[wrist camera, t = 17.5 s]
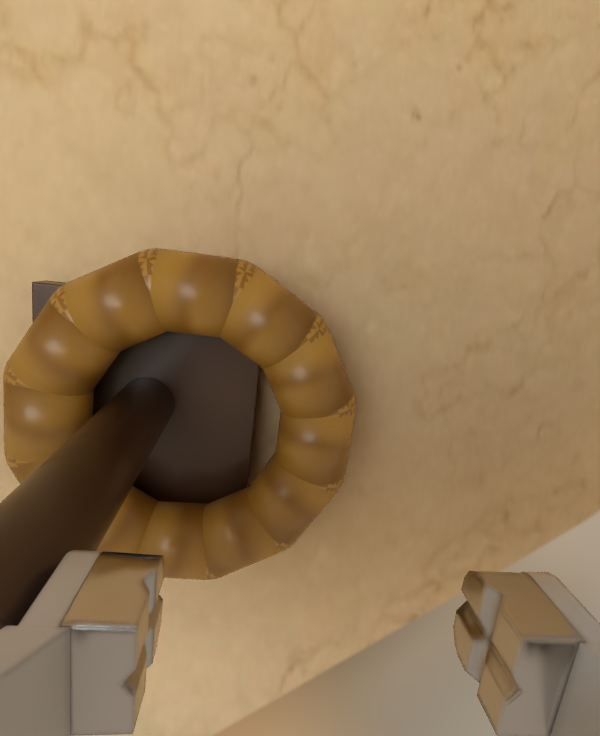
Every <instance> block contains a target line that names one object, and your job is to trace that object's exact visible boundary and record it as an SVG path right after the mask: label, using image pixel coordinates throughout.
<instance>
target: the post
mask: <svg viewBox="0 0 600 736" xmlns="http://www.w3.org/2000/svg"><path fill="white" fill-rule="evenodd" d="M64 284H66V283H61V282H52V281H39V282H33V283H32V309H33V322H34V321H35V319H36V318H37V316H38V315H39V313H40V312H41V310H42V309H43V307H44V306H45V304H46V303H47V301H48V300H49V298H50V297H51V296H52V294H53V293H54V292H55V291H56V290H57V289H58V288H59V287H61V286H62V285H64ZM259 369H260V366H259V365H257V364H256V363H254V362H253V361H252V360H250V359H249V358H248V357H246V356H245V355H243V354H242V353H241V352H239V351H238V350H236V349H235V348H234V347H232V346H231V345H229V344H228V343H227V342H225V341H224V340H222V339H221V338H217V337H209V336H200V335H191V334H183V333H174V332H165V333H163V334H160V335H158V336H155V337H153V338H151V339H148V340H146V341H144V342H141V343H139V344H137V345H134V346H132V347H129V348H127V349H125V350H122V351H120V353H119V354H118V356H117V357H116V359H115V360H114V361H113V363H112V364H111V366H110V367H109V368H108V370H107V371H106V373H105V374H104V376H103V377H102V378H101V380H100V381H99V383H98V384H97V385H96V387H95V388H94V398H93V417H92V418H91V419H90V420H88V421H87V422H86V423H85V424H84V425H83V426H82V427H81V428H80V429H79V430H78V431H77V432H76V433H75V434H74V435H72V436H71V437H70V438H69V439H68V440H67V441H66V442H65V443H64V444H63V445H62V446H61V447H60V448H59V449H58V450H56V451H55V452H54V453H53V454H52V455H51V456H50V457H49V458H48V459H47V460H46V461H45V462H44V463H43V464H42V465H40V466H39V467H38V468H37V469H36V470H35V471H34V472H33V473H32V474H31V475H30V476H29V477H28V478H27V479H26V480H24V481H23V482H22V483H21V484H20V485H19V486H18V487H17V488H16V489H15V490H14V491H13V492H12V493H11V494H10V495H8V496H7V497H6V498H5V499H4V500H3V501H2V502H1V503H0V629H2V628H4V627H5V626H18V624H19V623H20V621H21V620H22V618H23V617H24V615H25V614H26V612H27V611H28V609H29V608H30V606H31V605H32V603H33V602H34V600H35V599H36V597H37V596H38V594H39V593H40V591H41V590H42V588H43V587H44V585H45V584H46V582H47V581H48V579H49V578H50V576H51V575H52V574H53V572H54V571H55V569H56V568H57V566H58V565H59V563H60V562H61V560H62V559H63V557H64V556H65V554H67V553H68V552H70V551H71V550H87V551H96V550H97V549H98V547H99V545H100V543H101V541H102V540H103V538H104V536H105V534H106V533H107V531H108V529H109V527H110V525H111V524H112V522H113V520H114V518H115V516H116V515H117V513H118V511H119V509H120V507H121V506H122V504H123V502H124V500H125V499H126V497H127V495H128V493H129V491H130V490H131V488H132V486H134V487H136V488H138V489H139V490H141V491H143V492H144V493H146V494H148V495H149V496H151V497H153V498H154V499H156V500H158V501H168V502H182V503H199V504H208V503H211V502H213V501H216V500H218V499H220V498H223V497H225V496H227V495H230V494H232V493H235V492H237V491H239V490H242V489H244V488H246V487H248V478H249V468H250V458H251V449H252V439H253V429H254V419H255V409H256V399H257V389H258V379H259Z"/></svg>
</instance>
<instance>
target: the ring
mask: <svg viewBox="0 0 600 736" xmlns="http://www.w3.org/2000/svg"><path fill="white" fill-rule="evenodd" d="M165 332H174V333H183V334H191V335H200V336H209V337H217V338H221V339H222V340H224V341H225V342H227V343H228V344H229V345H231V346H232V347H234V348H235V349H236V350H238V351H239V352H241V353H242V354H243V355H245V356H246V357H248V358H249V359H250V360H252V361H253V362H254V363H256V364H257V365H259V366H260V367H261V368H262V369H263V371H264V373H265V376H266V378H267V380H268V382H269V384H270V387H271V389H272V391H273V393H274V396H275V398H276V400H277V402H278V405H279V407H280V409H281V415H280V423H279V430H278V438H277V446H276V453H275V454H274V455H273V457H272V458H271V459H270V460H269V462H268V463H267V464H266V465H265V467H264V468H263V469H262V471H261V472H260V473H259V474H258V476H257V477H256V478H255V479H254V481H253V482H252V483H251V484H250V486H249V487H246V488H244V489H242V490H239V491H237V492H235V493H232V494H230V495H227V496H225V497H223V498H220V499H218V500H216V501H213V502H211V503H208V504H196V503H182V502H168V501H158V500H156V499H154V498H153V497H151V496H149V495H148V494H146V493H144V492H143V491H141V490H139V489H138V488H136V487H134V486H132V488H131V490H130V491H129V493H128V495H127V497H126V499H125V500H124V502H123V504H122V506H121V507H120V509H119V511H118V513H117V515H116V516H115V518H114V520H113V522H112V524H111V525H110V527H109V529H108V531H107V533H106V534H105V536H104V538H103V540H102V541H101V543H100V545H99V547H98V549H97V550H96V551H101V552H104V551H107V552H121V553H135V554H149V555H163V556H164V560H165V562H164V578H181V579H200V580H209V579H216V578H219V577H222V576H224V575H227V574H229V573H232V572H234V571H236V570H239V569H241V568H243V567H246V566H248V565H251V564H253V563H255V562H258V561H260V560H263V559H265V558H267V557H270V556H272V555H274V554H277V553H279V552H282V551H284V550H286V549H287V548H289V547H290V546H291V545H292V544H294V542H295V541H296V540H297V539H298V538H299V537H300V535H301V534H302V533H303V532H304V531H305V529H306V528H307V527H308V526H309V525H310V523H311V522H312V521H313V520H314V519H315V517H316V516H317V515H318V514H319V513H320V511H321V510H322V509H323V508H324V507H325V505H326V504H327V503H328V502H329V501H330V499H331V498H332V497H333V496H334V494H335V493H336V492H337V491H338V489H339V488H340V486H341V484H342V482H343V479H344V475H345V470H346V464H347V458H348V452H349V447H350V441H351V435H352V429H353V423H354V417H355V411H356V399H355V395H354V392H353V389H352V387H351V384H350V382H349V379H348V377H347V374H346V372H345V369H344V367H343V364H342V362H341V359H340V357H339V354H338V352H337V349H336V346H335V344H334V341H333V339H332V336H331V334H330V331H329V329H328V327H327V325H326V323H325V321H324V320H323V319H322V317H321V316H320V315H319V314H317V313H316V312H315V311H314V310H312V309H311V308H310V307H309V306H307V305H306V304H305V303H303V302H302V301H301V300H300V299H298V298H297V297H296V296H294V295H293V294H292V293H291V292H289V291H288V290H287V289H285V288H284V287H283V286H282V285H280V284H279V283H278V282H276V281H275V280H274V279H272V278H271V277H270V276H269V275H267V274H266V273H265V272H263V271H262V270H261V269H260V268H258V267H257V266H255V265H254V264H252V263H249V262H247V261H244V260H239V259H232V258H225V257H218V256H211V255H203V254H196V253H189V252H182V251H174V250H167V249H157V248H156V249H148V250H144V251H141V252H138V253H136V254H133V255H131V256H129V257H126V258H124V259H122V260H119V261H117V262H114V263H112V264H110V265H107V266H105V267H103V268H100V269H98V270H96V271H93V272H91V273H89V274H86V275H84V276H82V277H79V278H77V279H74V280H72V281H70V282H68V283H66V284H64V285H62V286H61V287H59V288H58V289H57V290H56V291H55V292H54V293H53V294H52V296H51V297H50V298H49V300H48V301H47V303H46V304H45V306H44V307H43V309H42V310H41V312H40V313H39V315H38V316H37V318H36V319H35V321H34V322H33V324H32V325H31V327H30V328H29V330H28V331H27V333H26V334H25V336H24V337H23V339H22V340H21V342H20V343H19V345H18V346H17V348H16V349H15V351H14V352H13V354H12V355H11V357H10V359H9V360H8V362H7V364H6V366H5V370H4V379H3V382H4V451H5V458H6V461H7V463H8V465H9V467H10V469H11V470H12V472H13V473H14V475H15V477H16V478H17V480H18V481H19V483H20V484H21V483H22V482H23V481H24V480H26V479H27V478H28V477H29V476H30V475H31V474H32V473H33V472H34V471H35V470H36V469H37V468H38V467H39V466H40V465H42V464H43V463H44V462H45V461H46V460H47V459H48V458H49V457H50V456H51V455H52V454H53V453H54V452H55V451H56V450H58V449H59V448H60V447H61V446H62V445H63V444H64V443H65V442H66V441H67V440H68V439H69V438H70V437H71V436H72V435H74V434H75V433H76V432H77V431H78V430H79V429H80V428H81V427H82V426H83V425H84V424H85V423H86V422H87V421H88V420H90V419H91V418H92V417H93V398H94V388H95V387H96V385H97V384H98V383H99V381H100V380H101V378H102V377H103V376H104V374H105V373H106V371H107V370H108V368H109V367H110V366H111V364H112V363H113V361H114V360H115V359H116V357H117V356H118V354H119V353H120V351H122V350H125V349H127V348H129V347H132V346H134V345H137V344H139V343H141V342H144V341H146V340H148V339H151V338H153V337H155V336H158V335H160V334H163V333H165Z"/></svg>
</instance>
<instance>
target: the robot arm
mask: <svg viewBox="0 0 600 736" xmlns="http://www.w3.org/2000/svg"><path fill="white" fill-rule="evenodd" d="M164 562H165V560H164V556H163V555H149V554H135V553H121V552H107V551H104V552H101V551H87V550H71V551H70V552H68V553H67V554H65V556H64V557H63V559H62V560H61V562H60V563H59V565H58V566H57V568H56V569H55V571H54V572H53V574H52V575H51V576H50V578H49V579H48V581H47V582H46V584H45V585H44V587H43V588H42V590H41V591H40V593H39V594H38V596H37V597H36V599H35V600H34V602H33V603H32V605H31V606H30V608H29V609H28V611H27V612H26V614H25V615H24V617H23V618H22V620H21V621H20V623H19V624H18V626H5V627H4V628H2V629H0V736H74V735H113V734H133V732H134V728H135V724H136V721H137V717H138V714H139V710H140V706H141V703H142V699H143V696H144V692H145V683H146V669H147V668H148V667H149V666H150V665H151V664H152V663H153V659H154V655H155V651H156V647H157V642H158V637H159V632H160V626H161V617H162V605H163V599H162V598H161V596H160V595H159V592H160V589H161V586H162V582H163V579H164ZM461 590H462V592H463V594H464V596H465V598H466V599H467V601H466V602H465V603H464V604H463V605H462V606H461V607H460V608H459V609H458V610H457V611H456V616H455V621H454V626H453V628H454V641H455V647H456V650H457V654H458V657H459V659H460V661H461V663H462V666H463V667H464V670H465V671H466V672H467V673H468V674H469V675H471V676H472V677H473V678H474V679H475V680H477V681H478V682H479V688H478V693H477V696H478V699H479V700H480V702H481V705H482V707H483V709H484V711H485V713H486V715H487V717H488V718H489V720H490V723H491V725H492V726H493V729H494V731H495V733H496V735H497V736H600V623H599V622H598V621H597V620H596V619H595V618H594V617H593V616H592V615H591V613H589V611H588V610H587V609H586V608H585V607H584V606H583V605H582V604H581V603H580V602H579V600H578V599H577V598H576V597H575V596H574V595H573V594H572V593H571V592H570V591H569V590H568V589H567V588H566V586H565V585H564V584H563V583H562V582H561V581H560V580H559V579H558V578H557V577H556V576H554V575H552V574H550V573H548V572H521V573H512V572H489V571H469V572H468V573H467V575H466V576H465V577H464V581H463V585H462V589H461Z"/></svg>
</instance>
